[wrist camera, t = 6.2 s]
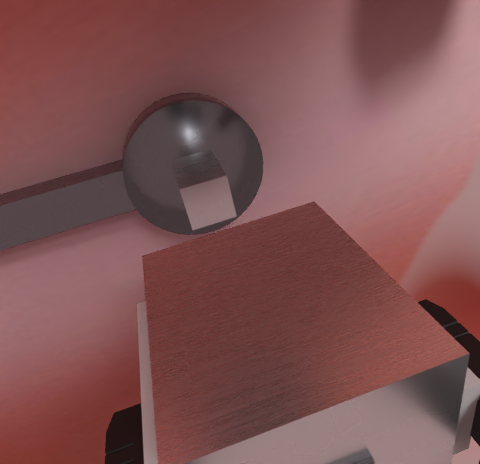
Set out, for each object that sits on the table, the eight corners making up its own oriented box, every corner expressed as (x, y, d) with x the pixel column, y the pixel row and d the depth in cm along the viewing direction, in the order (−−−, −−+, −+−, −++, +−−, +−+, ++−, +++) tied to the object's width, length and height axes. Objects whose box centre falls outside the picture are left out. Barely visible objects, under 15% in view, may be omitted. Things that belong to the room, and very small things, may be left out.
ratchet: (238, 77, 25) (273, 98, 19) (262, 197, 30) (296, 244, 24) (-164, 186, 22) (-266, 251, 16) (-66, 299, 27) (-118, 380, 21)
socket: (142, 256, 12) (159, 482, 6) (314, 201, 13) (475, 359, 7) (191, 373, 16) (234, 599, 10) (328, 325, 16) (448, 506, 10)
